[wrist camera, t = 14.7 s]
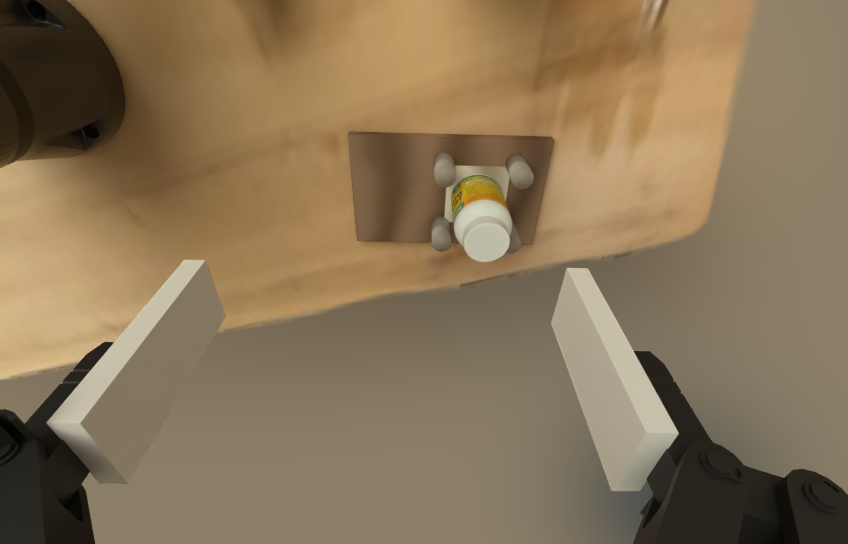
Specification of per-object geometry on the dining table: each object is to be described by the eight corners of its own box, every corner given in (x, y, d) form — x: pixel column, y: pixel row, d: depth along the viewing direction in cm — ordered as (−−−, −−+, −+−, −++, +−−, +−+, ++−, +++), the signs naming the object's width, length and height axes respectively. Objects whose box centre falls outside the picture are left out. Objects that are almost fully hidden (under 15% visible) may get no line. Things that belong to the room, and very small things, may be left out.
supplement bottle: (498, 218, 45) (513, 269, 37) (449, 218, 45) (454, 269, 37) (504, 171, 41) (522, 216, 34) (451, 171, 41) (457, 216, 34)
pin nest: (358, 236, 47) (351, 260, 43) (349, 131, 40) (341, 149, 36) (530, 240, 48) (539, 264, 44) (551, 136, 40) (565, 154, 36)
